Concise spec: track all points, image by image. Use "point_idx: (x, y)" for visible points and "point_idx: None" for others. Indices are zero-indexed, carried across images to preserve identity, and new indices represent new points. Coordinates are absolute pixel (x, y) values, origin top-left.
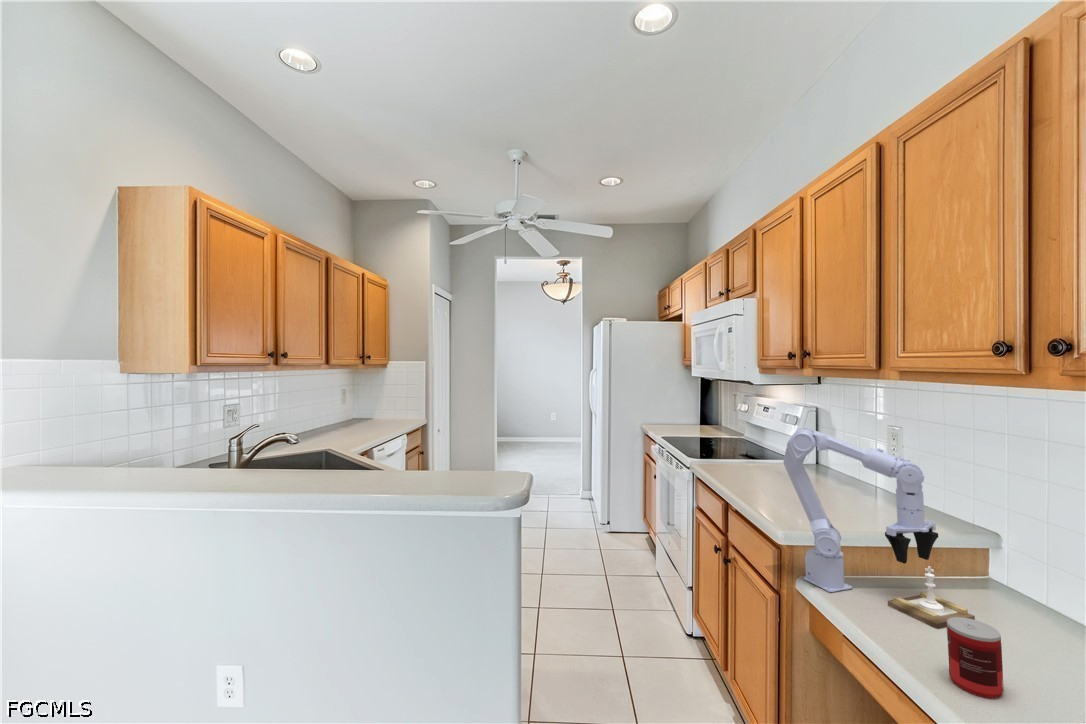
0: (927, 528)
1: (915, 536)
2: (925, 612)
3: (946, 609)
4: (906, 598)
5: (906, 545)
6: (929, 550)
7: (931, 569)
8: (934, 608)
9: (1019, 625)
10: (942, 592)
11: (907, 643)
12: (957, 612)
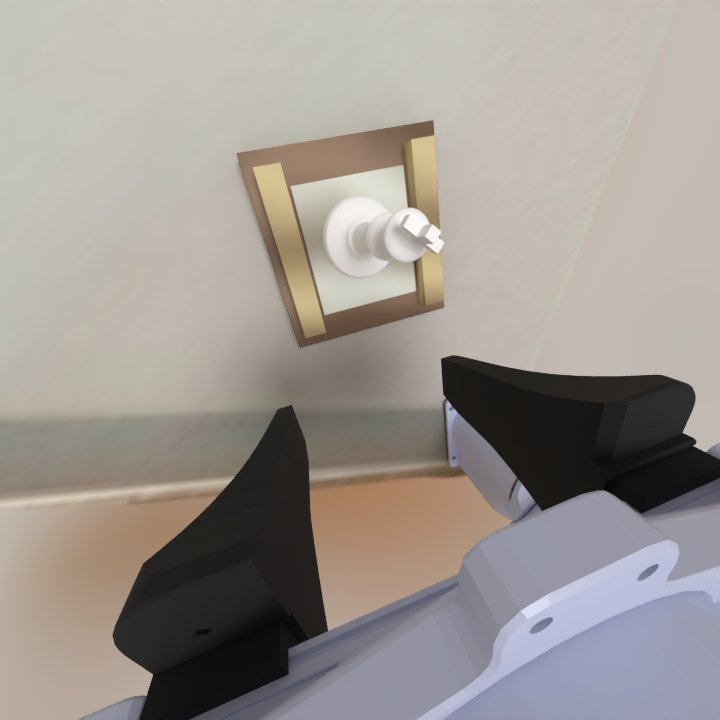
0: (503, 647)
1: (317, 578)
2: (436, 175)
3: (316, 216)
4: (377, 320)
5: (558, 386)
6: (274, 439)
7: (415, 227)
8: (378, 202)
9: (48, 74)
10: (195, 387)
11: (582, 56)
12: (292, 186)
